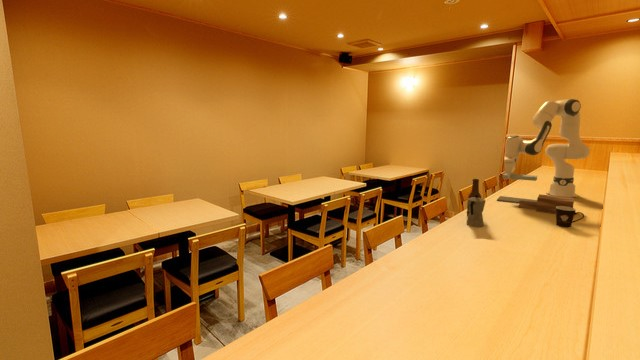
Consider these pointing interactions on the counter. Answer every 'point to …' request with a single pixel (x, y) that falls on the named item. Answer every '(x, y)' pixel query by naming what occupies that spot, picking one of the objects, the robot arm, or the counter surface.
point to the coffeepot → (475, 211)
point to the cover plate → (521, 177)
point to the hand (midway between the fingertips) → (509, 177)
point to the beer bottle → (474, 192)
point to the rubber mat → (513, 199)
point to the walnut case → (547, 203)
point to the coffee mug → (565, 216)
